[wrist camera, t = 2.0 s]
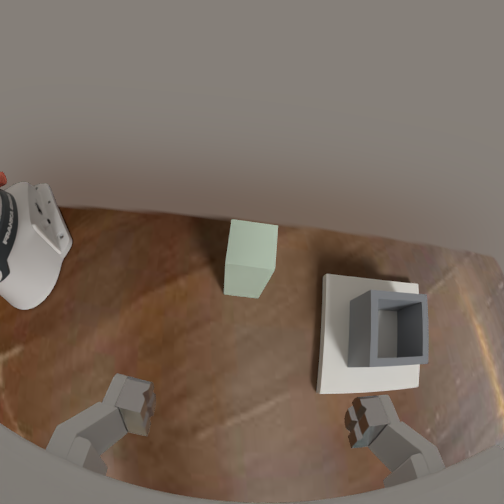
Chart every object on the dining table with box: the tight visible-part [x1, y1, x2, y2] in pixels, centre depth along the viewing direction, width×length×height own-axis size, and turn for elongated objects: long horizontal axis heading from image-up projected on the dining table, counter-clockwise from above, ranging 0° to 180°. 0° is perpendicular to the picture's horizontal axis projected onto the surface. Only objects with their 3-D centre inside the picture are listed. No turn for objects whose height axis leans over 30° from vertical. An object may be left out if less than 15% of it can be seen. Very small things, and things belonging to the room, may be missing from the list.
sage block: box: [224, 219, 278, 298], centre depth 32 cm, size 4×4×12 cm
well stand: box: [316, 274, 428, 394], centre depth 33 cm, size 16×16×8 cm
